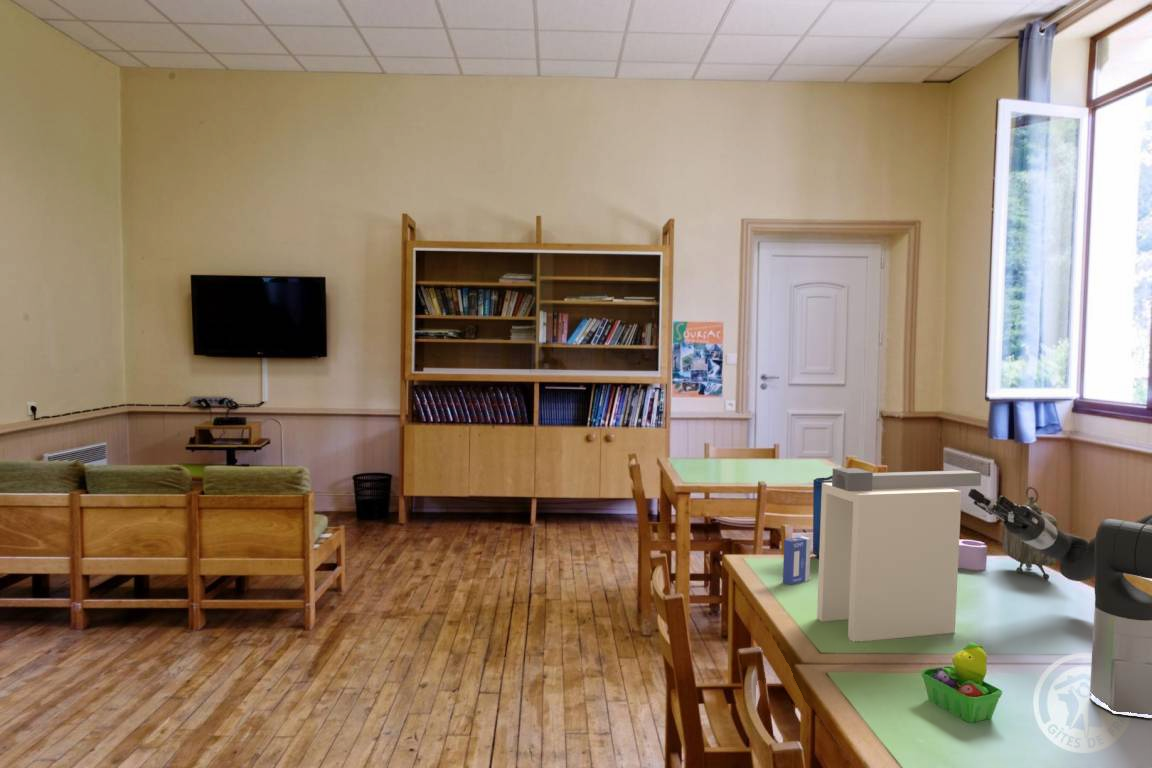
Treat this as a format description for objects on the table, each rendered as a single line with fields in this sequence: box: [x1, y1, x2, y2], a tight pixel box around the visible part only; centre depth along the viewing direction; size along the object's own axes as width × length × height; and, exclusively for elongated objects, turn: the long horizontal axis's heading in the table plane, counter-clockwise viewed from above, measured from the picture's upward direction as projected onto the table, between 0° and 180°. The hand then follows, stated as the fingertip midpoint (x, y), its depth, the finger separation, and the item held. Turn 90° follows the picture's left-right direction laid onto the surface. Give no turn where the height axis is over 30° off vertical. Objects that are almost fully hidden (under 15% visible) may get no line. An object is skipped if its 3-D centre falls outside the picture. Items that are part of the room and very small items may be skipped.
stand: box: [816, 483, 963, 643], centre depth 168 cm, size 26×14×32 cm, turn 104°
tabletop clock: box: [1001, 486, 1059, 580], centre depth 211 cm, size 14×9×25 cm, turn 171°
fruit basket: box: [920, 642, 1003, 724], centre depth 130 cm, size 11×9×11 cm
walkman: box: [782, 535, 812, 586], centre depth 200 cm, size 8×3×12 cm, turn 123°
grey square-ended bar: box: [831, 467, 982, 491], centre depth 168 cm, size 36×6×4 cm, turn 104°
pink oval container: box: [958, 538, 988, 571], centre depth 220 cm, size 20×12×7 cm, turn 70°
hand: (984, 495), depth 174 cm, fingers open, 8 cm apart
